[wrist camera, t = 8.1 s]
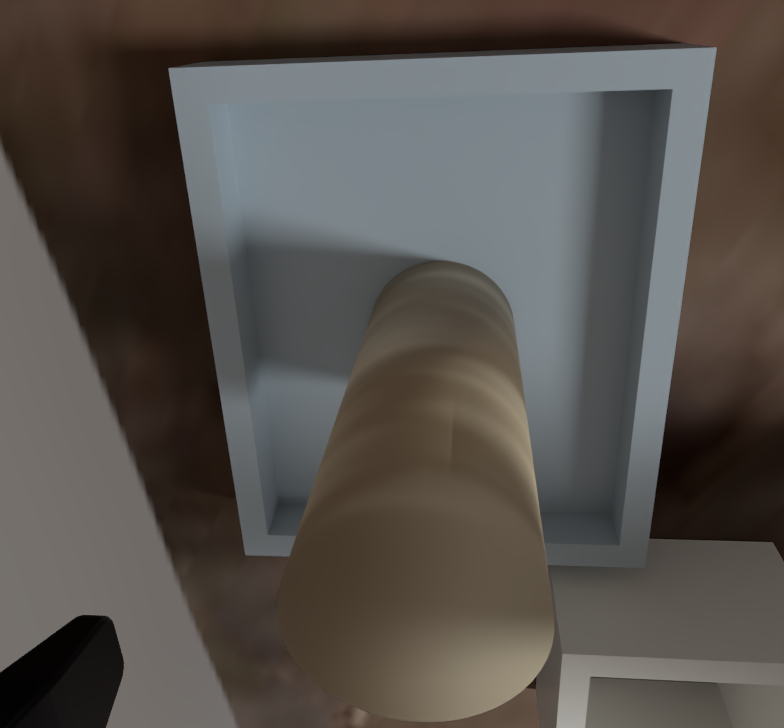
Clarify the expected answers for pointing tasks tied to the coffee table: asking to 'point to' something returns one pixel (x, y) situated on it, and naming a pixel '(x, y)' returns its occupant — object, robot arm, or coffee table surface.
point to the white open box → (668, 640)
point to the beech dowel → (425, 514)
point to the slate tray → (450, 252)
